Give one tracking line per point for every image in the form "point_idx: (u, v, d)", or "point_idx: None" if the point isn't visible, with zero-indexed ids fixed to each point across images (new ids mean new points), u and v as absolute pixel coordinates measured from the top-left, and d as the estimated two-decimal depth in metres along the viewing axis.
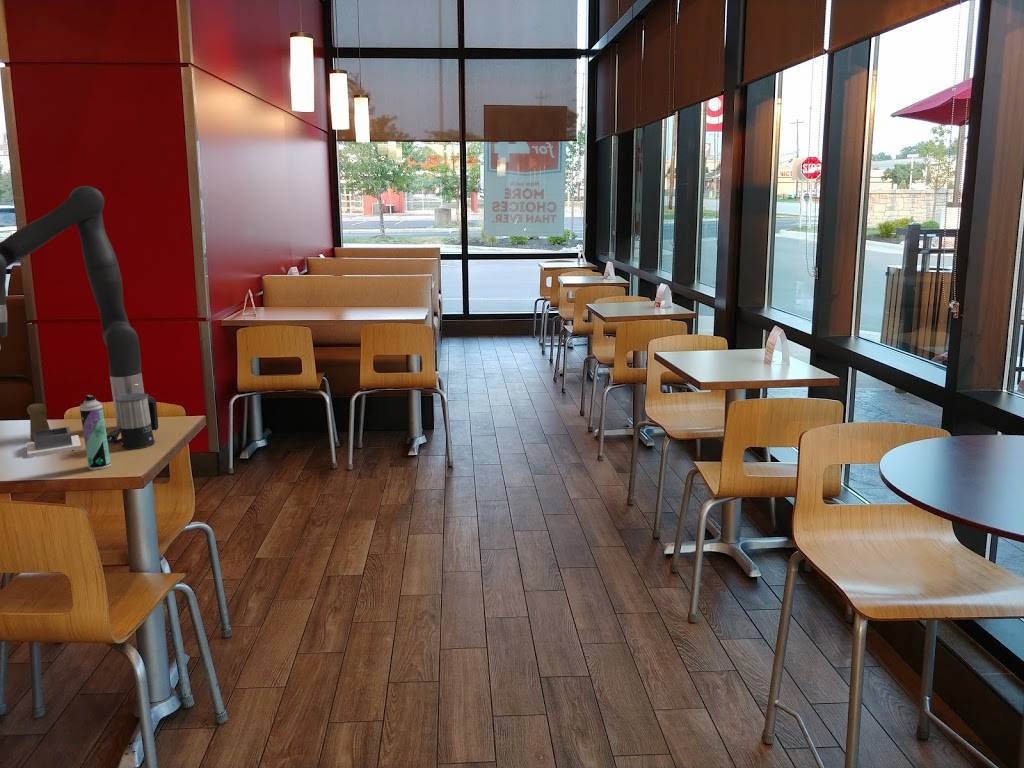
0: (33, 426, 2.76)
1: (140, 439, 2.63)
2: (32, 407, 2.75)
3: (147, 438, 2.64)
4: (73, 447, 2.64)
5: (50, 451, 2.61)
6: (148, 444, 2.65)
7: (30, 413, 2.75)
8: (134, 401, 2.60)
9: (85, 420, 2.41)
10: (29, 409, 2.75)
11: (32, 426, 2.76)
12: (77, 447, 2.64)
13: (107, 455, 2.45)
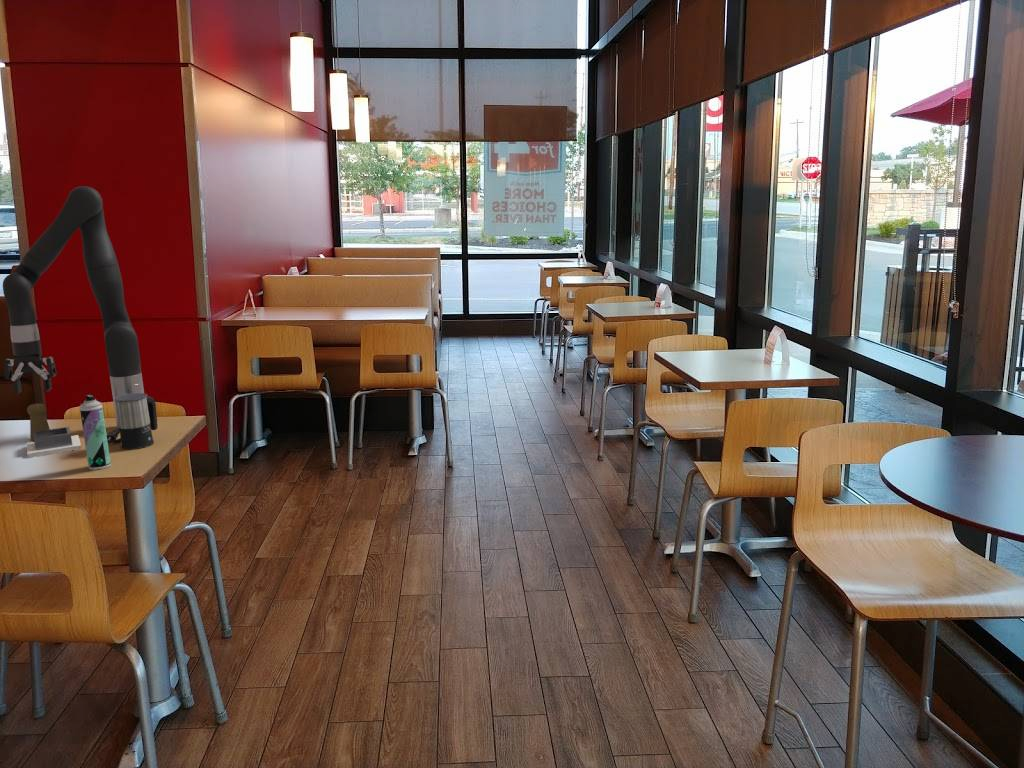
0: (33, 426, 2.76)
1: (140, 439, 2.63)
2: (32, 407, 2.75)
3: (146, 438, 2.64)
4: (73, 447, 2.64)
5: (50, 451, 2.61)
6: (147, 444, 2.65)
7: (30, 413, 2.75)
8: (133, 401, 2.60)
9: (85, 420, 2.41)
10: (29, 409, 2.75)
11: (32, 426, 2.76)
12: (77, 447, 2.64)
13: (107, 455, 2.45)
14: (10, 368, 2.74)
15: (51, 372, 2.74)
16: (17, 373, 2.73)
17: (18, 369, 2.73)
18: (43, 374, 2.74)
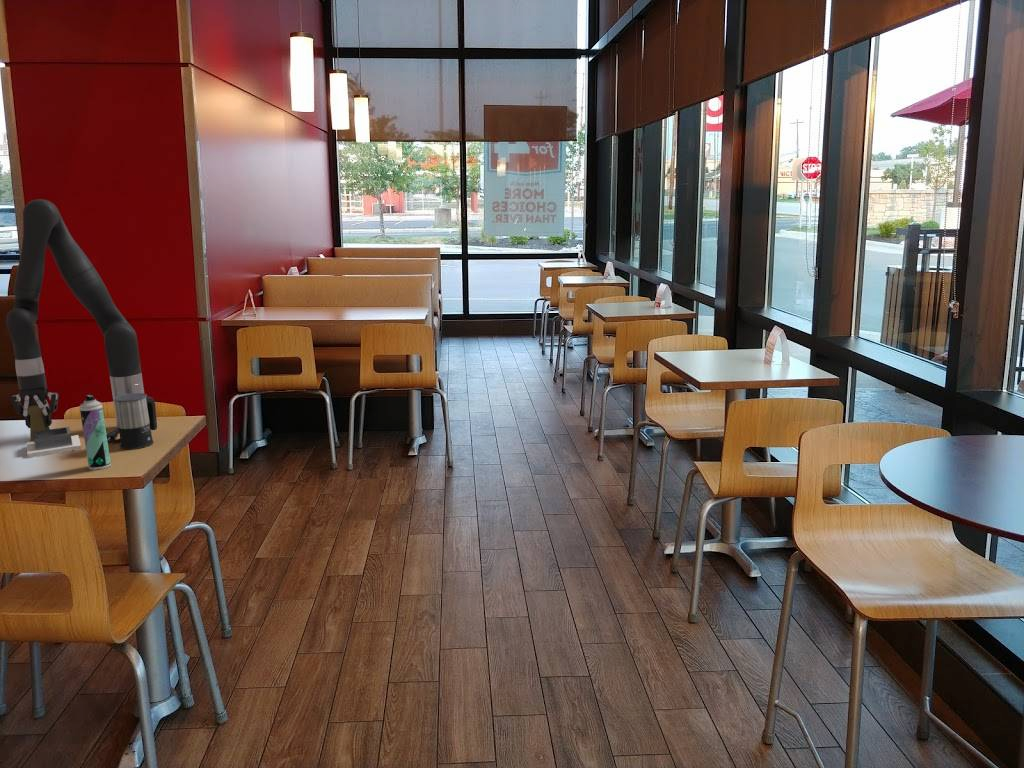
0: (33, 426, 2.76)
1: (139, 439, 2.63)
2: (32, 407, 2.75)
3: (145, 438, 2.64)
4: (73, 447, 2.64)
5: (50, 451, 2.61)
6: (147, 444, 2.65)
7: (30, 413, 2.75)
8: (133, 401, 2.60)
9: (85, 420, 2.41)
10: (29, 409, 2.75)
11: (32, 426, 2.76)
12: (77, 447, 2.64)
13: (107, 455, 2.45)
14: (19, 403, 2.77)
15: (52, 408, 2.76)
16: (26, 407, 2.75)
17: (26, 403, 2.75)
18: (44, 409, 2.76)
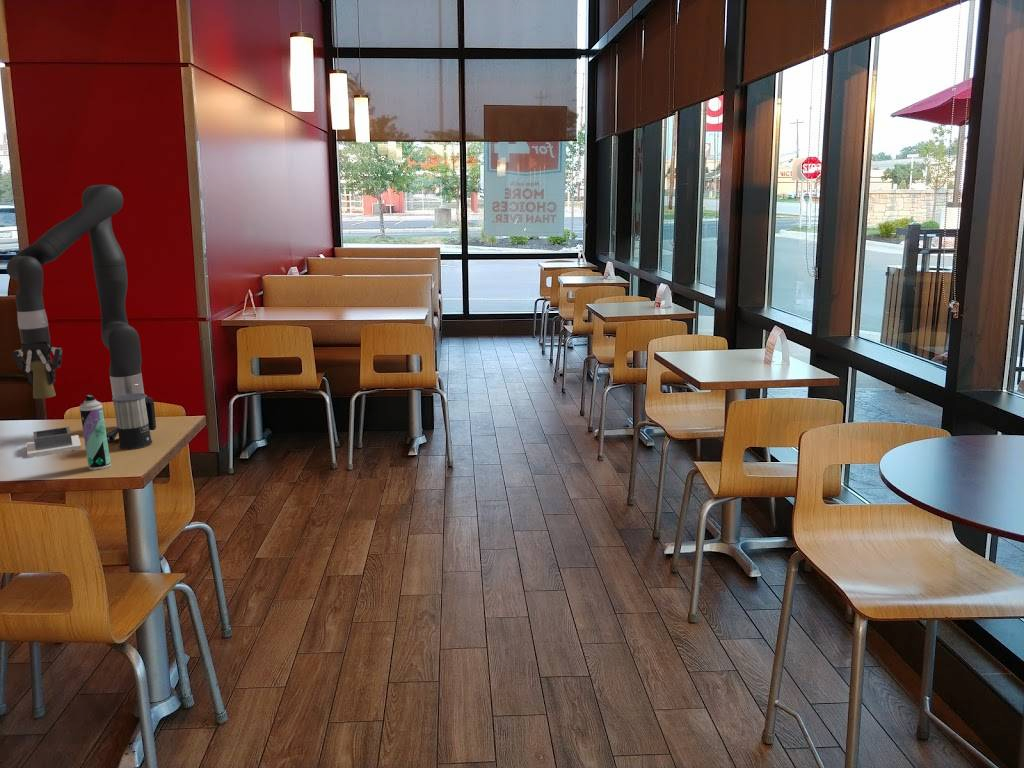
0: (36, 383, 2.62)
1: (138, 439, 2.63)
2: (35, 362, 2.61)
3: (144, 438, 2.64)
4: (73, 447, 2.64)
5: (50, 451, 2.61)
6: (145, 444, 2.65)
7: (33, 369, 2.61)
8: (131, 401, 2.60)
9: (85, 420, 2.41)
10: (32, 364, 2.61)
11: (35, 382, 2.62)
12: (77, 447, 2.64)
13: (107, 455, 2.45)
14: (21, 359, 2.63)
15: (56, 364, 2.63)
16: (29, 363, 2.62)
17: (28, 358, 2.61)
18: (48, 365, 2.63)
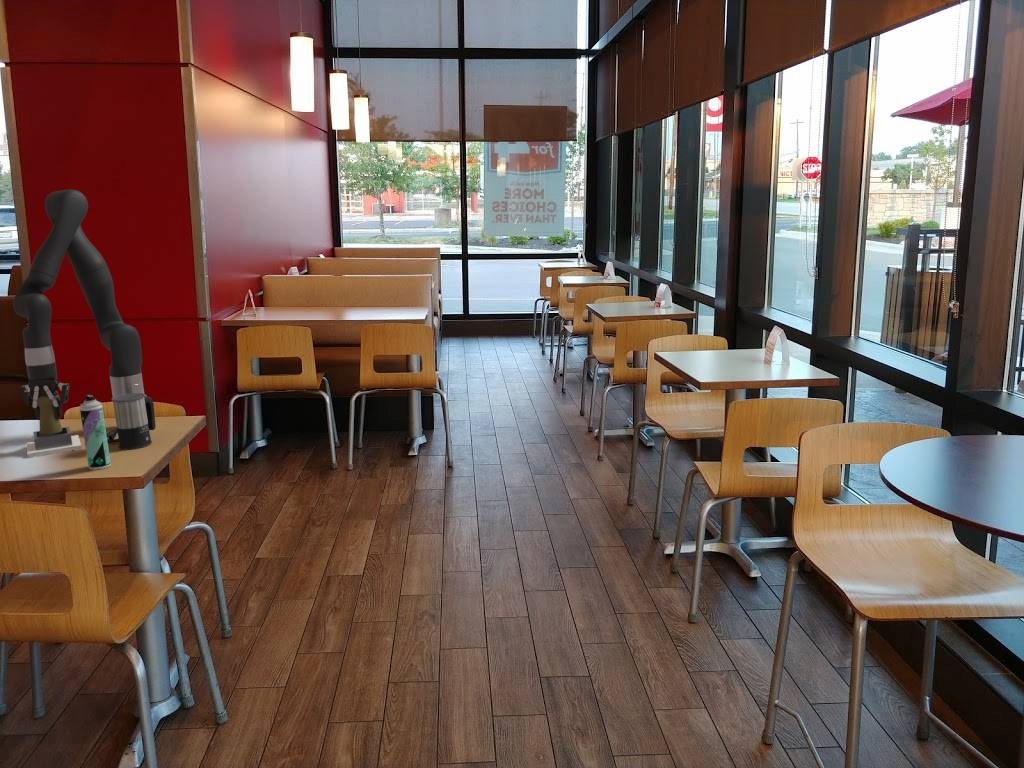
0: (43, 418, 2.64)
1: (137, 439, 2.63)
2: (42, 398, 2.62)
3: (144, 438, 2.64)
4: (73, 447, 2.64)
5: (50, 451, 2.61)
6: (145, 444, 2.65)
7: (40, 404, 2.63)
8: (131, 401, 2.60)
9: (85, 420, 2.41)
10: (39, 400, 2.63)
11: (42, 418, 2.64)
12: (77, 447, 2.64)
13: (107, 455, 2.45)
14: (28, 394, 2.64)
15: (63, 399, 2.64)
16: (36, 398, 2.63)
17: (35, 394, 2.63)
18: (55, 401, 2.64)
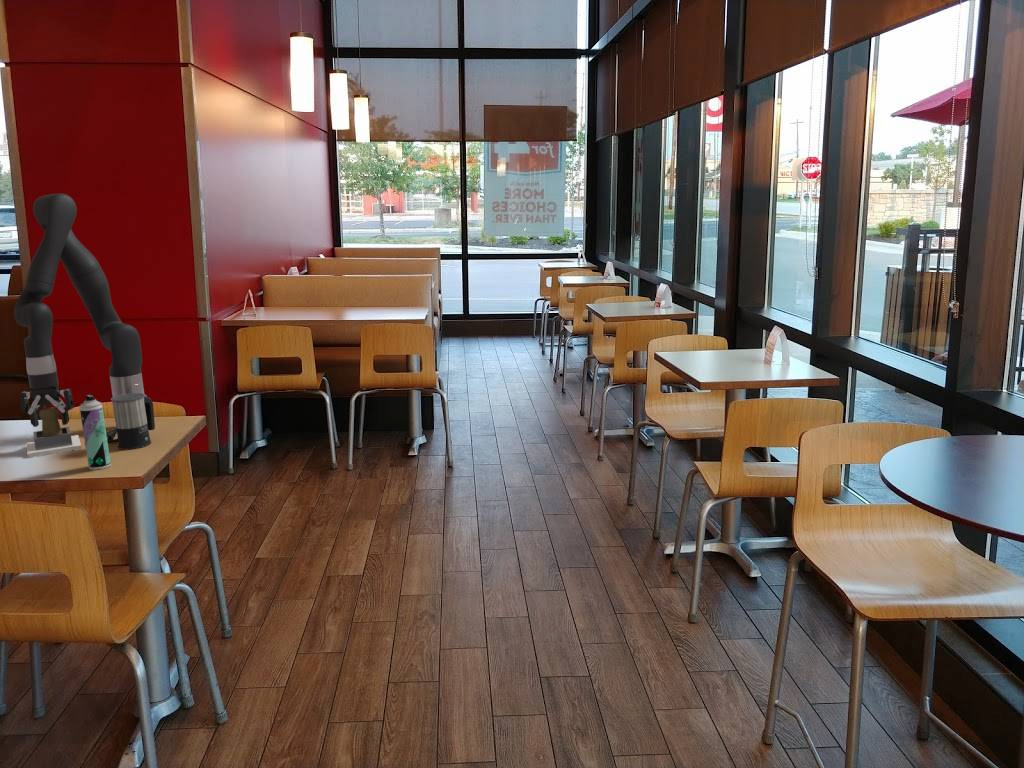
0: (46, 431, 2.64)
1: (137, 439, 2.63)
2: (44, 411, 2.63)
3: (143, 438, 2.64)
4: (73, 447, 2.64)
5: (50, 451, 2.61)
6: (144, 444, 2.65)
7: (42, 417, 2.63)
8: (130, 401, 2.60)
9: (85, 420, 2.41)
10: (41, 413, 2.63)
11: (44, 431, 2.64)
12: (77, 447, 2.64)
13: (107, 455, 2.45)
14: (26, 401, 2.65)
15: (69, 405, 2.64)
16: (34, 406, 2.63)
17: (35, 402, 2.63)
18: (60, 407, 2.64)
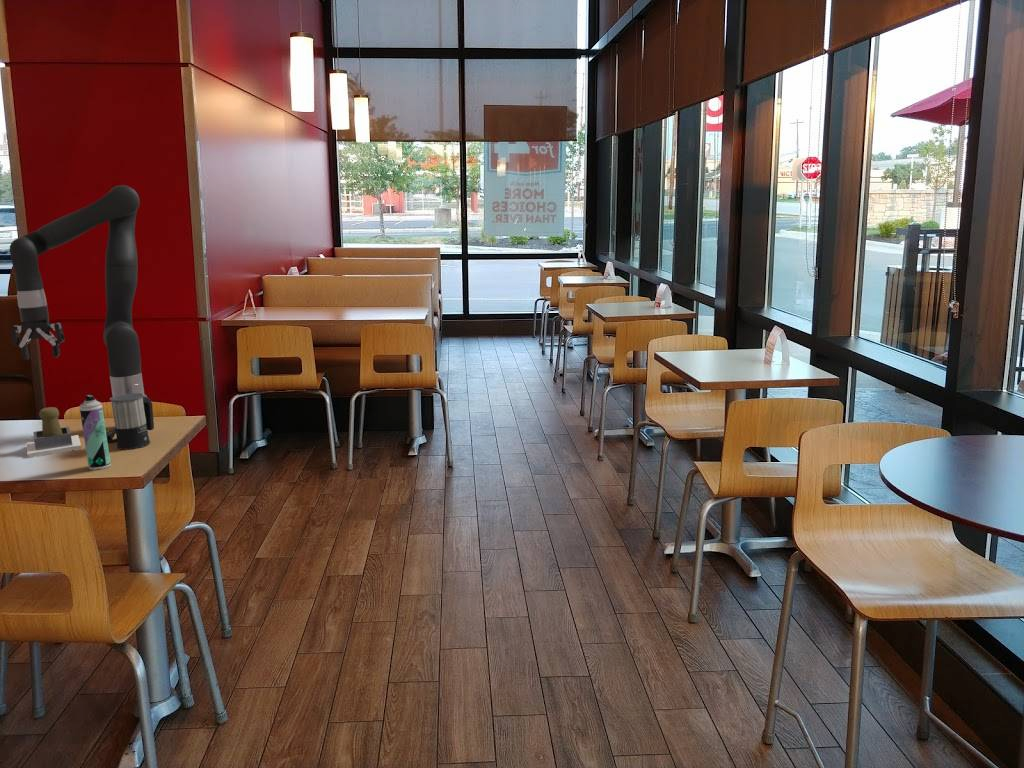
0: (46, 431, 2.64)
1: (135, 439, 2.63)
2: (44, 411, 2.63)
3: (142, 438, 2.64)
4: (73, 447, 2.64)
5: (50, 451, 2.61)
6: (143, 444, 2.65)
7: (42, 417, 2.63)
8: (129, 401, 2.60)
9: (85, 420, 2.41)
10: (41, 413, 2.63)
11: (44, 431, 2.64)
12: (77, 447, 2.64)
13: (107, 455, 2.45)
14: (18, 335, 2.72)
15: (59, 338, 2.72)
16: (25, 339, 2.71)
17: (26, 335, 2.70)
18: (51, 340, 2.72)
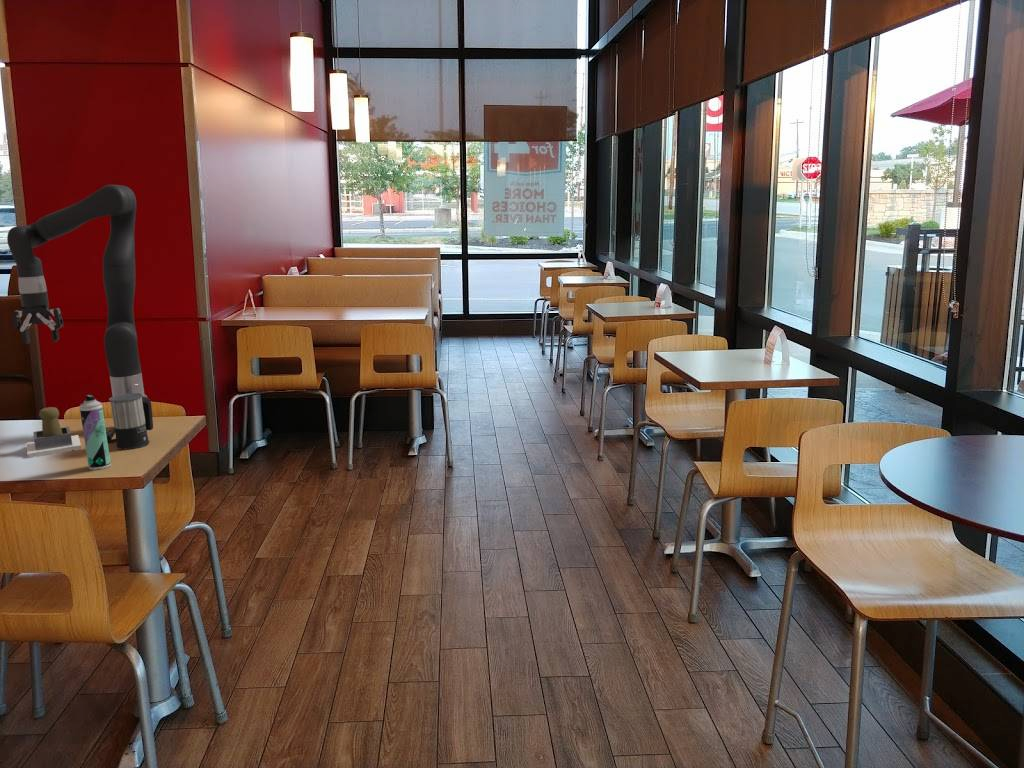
0: (46, 431, 2.64)
1: (135, 439, 2.63)
2: (44, 411, 2.63)
3: (141, 438, 2.64)
4: (73, 447, 2.64)
5: (50, 451, 2.61)
6: (142, 444, 2.65)
7: (42, 417, 2.63)
8: (128, 401, 2.60)
9: (85, 420, 2.41)
10: (41, 413, 2.63)
11: (44, 431, 2.64)
12: (77, 447, 2.64)
13: (107, 455, 2.45)
14: (18, 319, 2.83)
15: (58, 323, 2.83)
16: (25, 324, 2.82)
17: (26, 320, 2.81)
18: (50, 325, 2.83)
